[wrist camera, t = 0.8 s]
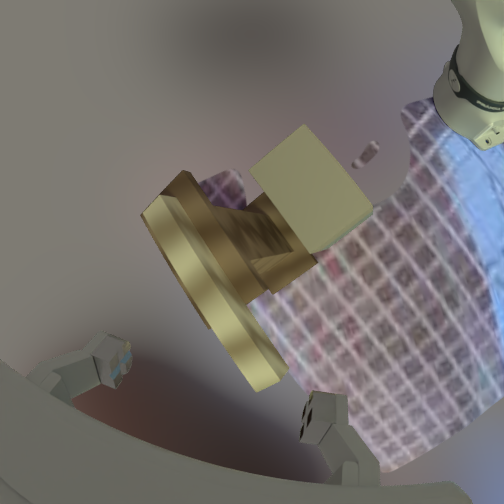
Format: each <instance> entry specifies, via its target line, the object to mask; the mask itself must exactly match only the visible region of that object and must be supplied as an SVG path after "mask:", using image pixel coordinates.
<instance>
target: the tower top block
mask: <svg viewBox="0 0 504 504" xmlns="http://www.w3.org/2000/svg"><path fill="white" fill-rule="evenodd" d="M249 172H250V173H251V175H252V176H253V177H254V179H255V180H256V181H257V183H258V184H259V185H260V186H261V188H262V189H263V190H264V192H265V193H266V195H267V196H268V197H269V199H270V200H271V201H272V203H273V204H274V205H275V207H276V208H277V209H278V211H279V212H280V213H281V215H282V216H283V217H284V219H285V220H286V221H287V223H288V224H289V226H290V227H291V228H292V230H293V231H294V232H295V234H296V235H297V237H298V238H299V239H300V241H301V242H302V244H303V245H304V246H305V248H306V249H307V250H308V252H309V253H310V254H312V253H315V252H318V251H321V250H322V249H323V248H325V247H326V246H327V245H329V244H330V243H331V242H333V241H334V240H335V239H337V238H338V237H339V236H341V235H342V234H343V233H345V232H346V231H347V230H349V229H350V228H351V227H353V226H354V225H355V224H356V223H358V222H359V221H360V220H362V219H363V218H364V217H366V216H367V215H368V214H369V213H371V212H372V211H373V205H372V204H371V203H370V201H369V200H368V199H367V198H366V196H365V195H364V194H363V192H362V191H361V190H360V188H359V187H358V186H357V185H356V184H355V182H354V181H353V180H352V178H351V177H350V176H349V175H348V173H347V172H346V171H345V170H344V169H343V167H341V165H340V164H339V163H338V161H337V160H336V159H335V158H334V157H333V156H332V154H331V153H330V152H329V151H328V150H327V149H326V147H325V146H324V145H323V144H322V143H321V142H320V141H319V139H318V138H317V137H316V136H315V135H314V134H313V133H312V132H311V131H310V129H308V127H307V126H306V125H305V124H303V125H302V126H301V127H299V128H298V129H297V130H296V131H295V132H293V133H292V134H291V135H290V136H288V137H287V138H286V139H285V140H283V141H282V142H281V143H280V144H279V145H277V146H276V147H275V148H274V149H273V150H272V151H270V152H269V153H268V154H267V155H266V156H264V157H263V158H262V159H261V160H260V161H259V162H258V163H256V164H255V165H254V166H253V167H252V168H251V169H249Z"/></svg>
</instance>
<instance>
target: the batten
mask: <svg viewBox="0 0 504 504" xmlns="http://www.w3.org/2000/svg"><path fill="white" fill-rule="evenodd" d="M143 215H144V216H145V218H146V220H147V222H148V224H149V225H150V227H151V229H152V231H153V233H154V234H155V236H156V238H157V240H158V241H159V243H160V245H161V247H162V248H163V250H164V252H165V253H166V255H167V257H168V259H169V260H170V262H171V264H172V265H173V267H174V269H175V270H176V272H177V274H178V275H179V277H180V279H181V280H182V282H183V284H184V285H185V287H186V288H187V290H188V292H189V293H190V295H191V297H192V298H193V300H194V301H195V303H196V304H197V306H198V308H199V309H200V311H201V312H202V314H203V315H204V317H205V319H206V320H207V322H208V323H209V325H210V326H211V328H212V329H213V331H214V332H215V334H216V335H217V337H218V338H219V340H220V341H221V343H222V344H223V346H224V347H225V349H226V350H227V352H228V353H229V355H230V356H231V357H232V359H233V360H234V362H235V363H236V365H237V366H238V368H239V369H240V370H241V372H242V373H243V375H244V376H245V377H246V379H247V380H248V382H249V383H250V385H251V386H252V387H253V389H254V390H255V391H256V392H258V391H260V390H263V389H265V388H267V387H269V386H271V385H273V384H275V383H277V382H279V381H281V379H282V378H283V376H284V375H285V374H286V372H287V371H288V369H289V367H288V365H287V364H286V363H285V361H284V360H283V358H282V357H281V356H280V354H279V353H278V351H277V350H276V348H275V347H274V345H273V344H272V343H271V341H270V340H269V338H268V337H267V335H266V334H265V332H264V331H263V329H262V328H261V327H260V325H259V324H258V322H257V321H256V319H255V318H254V316H253V315H252V313H251V312H250V310H249V309H248V307H247V306H246V304H245V303H244V301H243V300H242V298H241V297H240V295H239V294H238V292H237V291H236V289H235V288H234V286H233V285H232V283H231V282H230V280H229V279H228V277H227V276H226V274H225V273H224V271H223V270H222V268H221V267H220V265H219V264H218V262H217V261H216V259H215V257H214V256H213V254H212V253H211V251H210V250H209V248H208V247H207V245H206V244H205V242H204V240H203V239H202V237H201V236H200V234H199V233H198V231H197V229H196V228H195V226H194V225H193V223H192V222H191V220H190V218H189V217H188V215H187V214H186V212H185V210H184V209H183V207H182V206H181V204H180V202H179V201H178V199H177V198H176V197H171V196H164V195H159V196H158V197H157V198H156V199H155V200H154V201H153V202H152V203H151V205H150V206H149V207H148V208H147V209H146V210H145V211H144V212H143Z"/></svg>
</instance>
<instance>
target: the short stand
mask: <svg viewBox="0 0 504 504" xmlns="http://www.w3.org/2000/svg"><path fill="white" fill-rule="evenodd" d="M159 195H164V196H171V197H176V198H177V199H178V201H179V202H180V204H181V206H182V207H183V209H184V210H185V212H186V214H187V215H188V217H189V218H190V220H191V222H192V223H193V225H194V226H195V228H196V229H197V231H198V233H199V234H200V236H201V237H202V239H203V240H204V242H205V244H206V245H207V247H208V248H209V250H210V251H211V253H212V254H213V256H214V257H215V259H216V261H217V262H218V264H219V265H220V267H221V268H222V270H223V271H224V273H225V274H226V276H227V277H228V279H229V280H230V282H231V283H232V285H233V286H234V288H235V289H236V291H237V292H238V294H239V295H240V297H241V298H242V300H243V301H244V303H245V304H246V305H247V304H248V303H250V302H251V301H252V300H254V299H255V298H257V297H258V296H259V295H261V294H262V293H264V292H265V291H267V290H268V289H269V290H270V292H271V293H272V294H275V293H276V292H278V291H279V290H281V289H282V288H283V287H285V286H286V285H288V284H289V283H290V282H292V281H293V280H295V279H296V278H297V277H299V276H300V275H302V274H303V273H304V272H306V271H307V270H309V269H310V268H311V267H313V266H314V265H316V264H317V263H318V262H317V260H316V259H315V257H314V256H313V255H312V254H310V253H309V252H308V250H307V249H306V248H305V246H304V245H303V244H302V242H301V241H300V239H299V238H298V237H297V235H296V234H295V232H294V231H293V230H292V228H291V227H290V226H289V224H288V223H287V221H286V220H285V219H284V217H283V216H282V215H281V213H280V212H279V211H278V209H277V208H276V207H275V205H274V204H273V203H272V201H271V200H270V199H269V197H268V196H267V195H266V193H265V192H263V193H262V194H261V195H260V196H259V197H257V198H256V199H255V200H254V201H253V202H251V203H250V204H249V205H248V206H247V207H246V208H244V209H243V210H236V209H230V208H224V207H219V206H213V205H212V204H211V202H210V201H209V199H208V198H207V196H206V195H205V193H204V192H203V190H202V189H201V187H200V186H199V184H198V183H197V181H196V180H195V178H194V177H193V176H192V174H191V173H190V172H188V171H184V170H183V171H181V172H180V174H178V176H176V177H175V179H174V180H173V181H172V182H171V183H170V184H169V185H168V186H167V187H166V188H165V189H164V190H163V191H162V192H161V193H160V194H159ZM159 195H158V196H159ZM158 196H157V197H158ZM157 197H156V198H157ZM150 205H151V204H150ZM150 205H149V206H150ZM149 206H148V207H149ZM148 207H147V208H148ZM147 208H146V209H147ZM146 209H145V210H146ZM145 210H144V211H145ZM141 217H142V219H143V221H144V223H145V225H146V227H147V228H148V230H149V232H150V234H151V235H152V237H153V239H154V241H155V243H156V244H157V246H158V248H159V250H160V251H161V253H162V255H163V257H164V258H165V260H166V262H167V263H168V265H169V267H170V268H171V270H172V272H173V274H174V275H175V277H176V278H177V280H178V282H179V283H180V285H181V287H182V288H183V290H184V292H185V293H186V295H187V296H188V298H189V300H190V301H191V303H192V304H193V306H194V308H195V309H196V311H197V312H198V314H199V316H200V317H201V319H202V320H203V322H204V323H205V325H206V326H207V328H208V329H211V326H210V325H209V323H208V322H207V320H206V319H205V317H204V315H203V314H202V312H201V311H200V309H199V308H198V306H197V304H196V303H195V301H194V300H193V298H192V297H191V295H190V293H189V292H188V290H187V288H186V287H185V285H184V284H183V282H182V280H181V279H180V277H179V275H178V274H177V272H176V270H175V269H174V267H173V265H172V264H171V262H170V260H169V259H168V257H167V255H166V253H165V252H164V250H163V248H162V247H161V245H160V243H159V241H158V240H157V238H156V236H155V234H154V233H153V231H152V229H151V227H150V225H149V224H148V222H147V220H146V218H145V216H144V215H143V213H142V214H141Z"/></svg>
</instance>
